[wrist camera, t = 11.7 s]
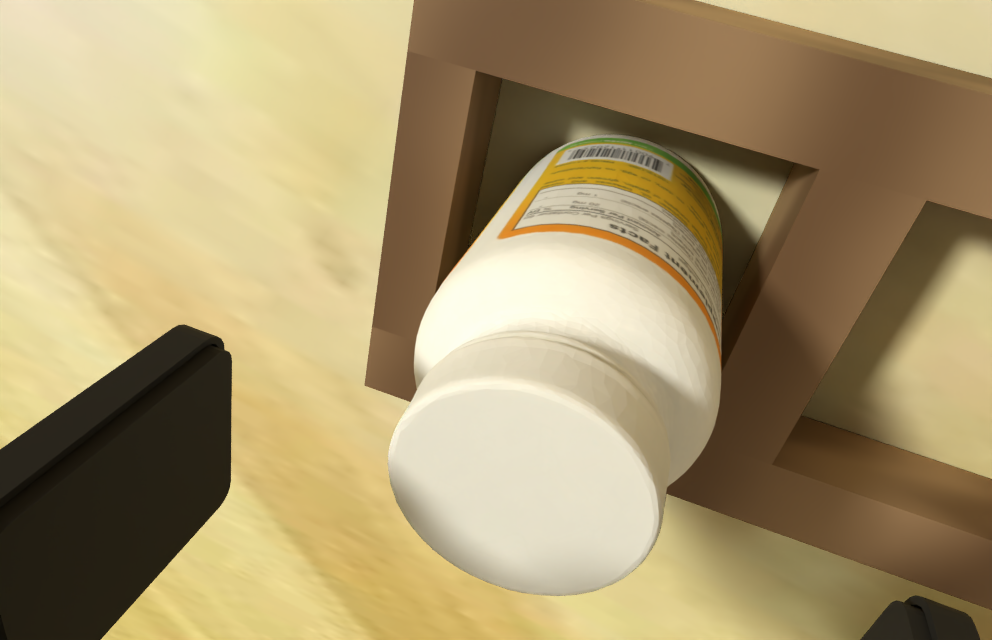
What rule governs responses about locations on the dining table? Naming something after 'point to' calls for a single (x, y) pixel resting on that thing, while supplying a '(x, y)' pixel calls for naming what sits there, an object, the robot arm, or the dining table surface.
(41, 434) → the robot arm
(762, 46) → the bottle rack
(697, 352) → the supplement bottle
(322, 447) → the dining table surface
